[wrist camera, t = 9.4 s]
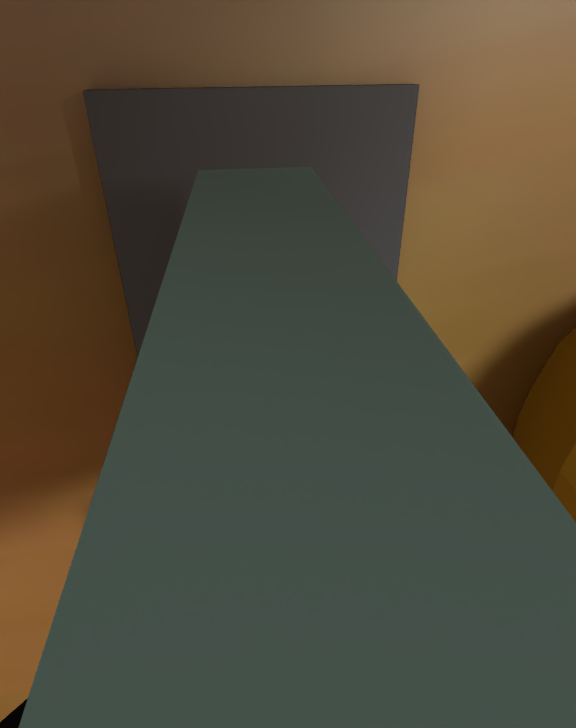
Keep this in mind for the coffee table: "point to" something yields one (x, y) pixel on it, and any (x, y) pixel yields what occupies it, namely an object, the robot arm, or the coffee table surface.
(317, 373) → the teal rectangular block
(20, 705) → the robot arm
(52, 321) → the coffee table surface
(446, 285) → the coffee table surface
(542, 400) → the decorative symbol
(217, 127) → the mat
